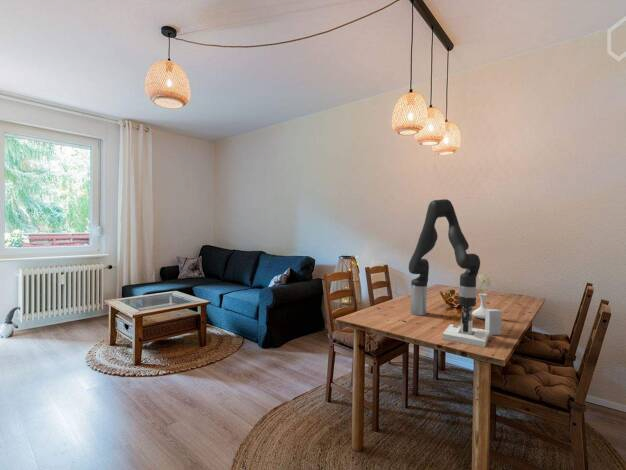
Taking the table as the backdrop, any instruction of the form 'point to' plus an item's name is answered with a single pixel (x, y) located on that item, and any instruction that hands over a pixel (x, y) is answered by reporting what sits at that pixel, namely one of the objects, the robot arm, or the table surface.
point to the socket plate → (466, 336)
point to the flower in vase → (482, 299)
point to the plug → (468, 326)
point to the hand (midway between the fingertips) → (466, 330)
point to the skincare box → (493, 321)
